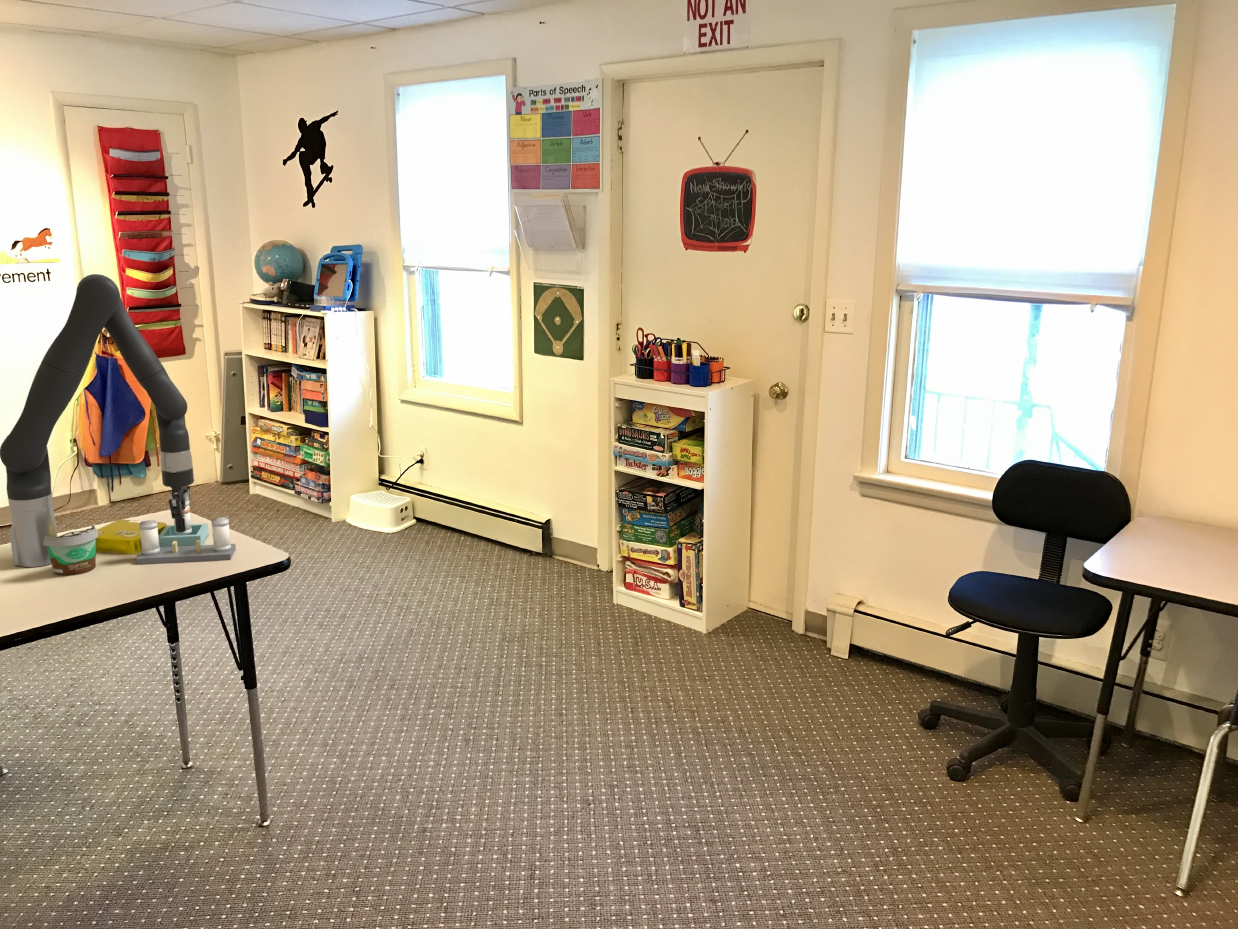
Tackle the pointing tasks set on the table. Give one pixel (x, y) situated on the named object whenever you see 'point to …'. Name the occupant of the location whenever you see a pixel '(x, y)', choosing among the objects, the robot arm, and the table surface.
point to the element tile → (122, 537)
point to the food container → (73, 552)
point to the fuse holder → (185, 553)
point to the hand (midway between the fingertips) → (182, 528)
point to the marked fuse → (187, 521)
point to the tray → (183, 536)
